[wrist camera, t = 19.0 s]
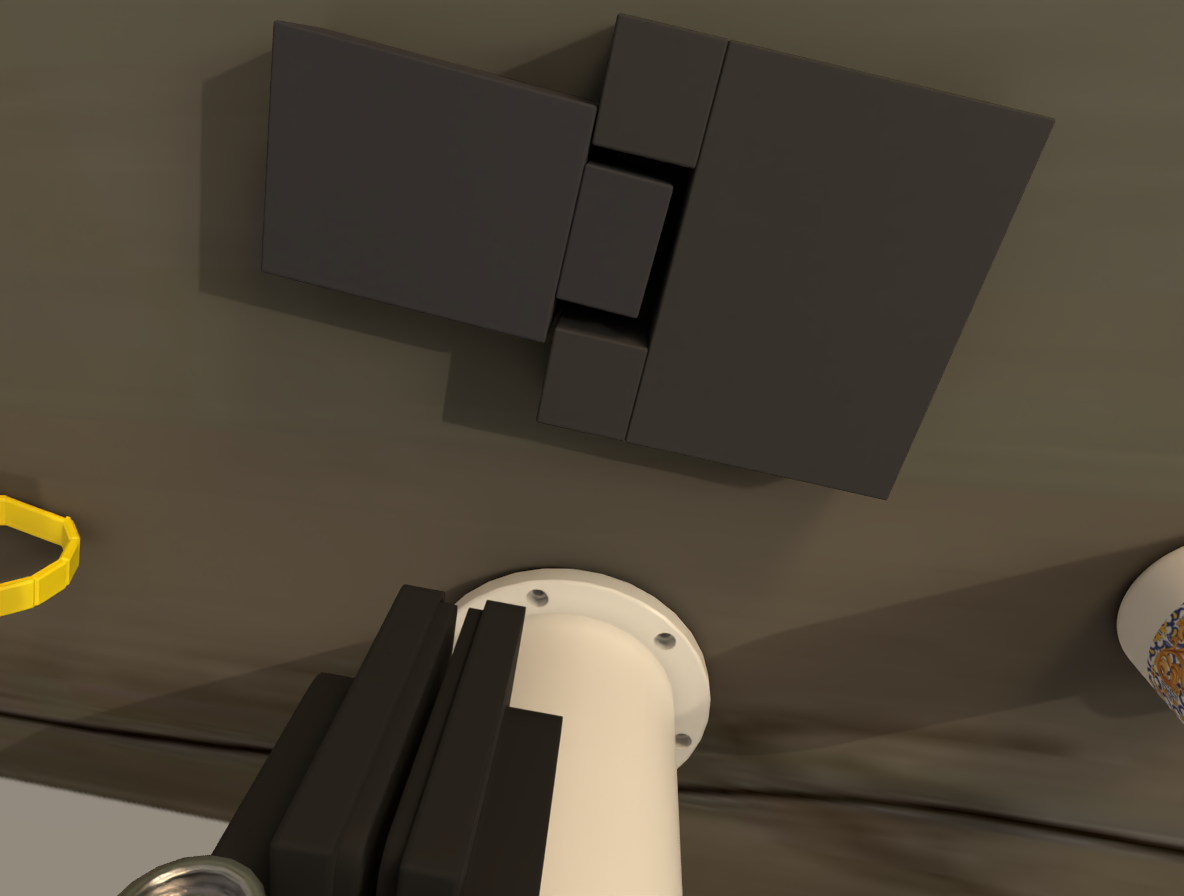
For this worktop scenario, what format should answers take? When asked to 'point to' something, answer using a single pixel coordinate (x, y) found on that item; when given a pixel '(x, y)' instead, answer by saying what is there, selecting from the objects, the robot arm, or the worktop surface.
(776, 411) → the notch pad
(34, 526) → the watch
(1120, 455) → the worktop surface
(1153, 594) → the bath foam
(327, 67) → the tongue pad
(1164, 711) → the worktop surface
